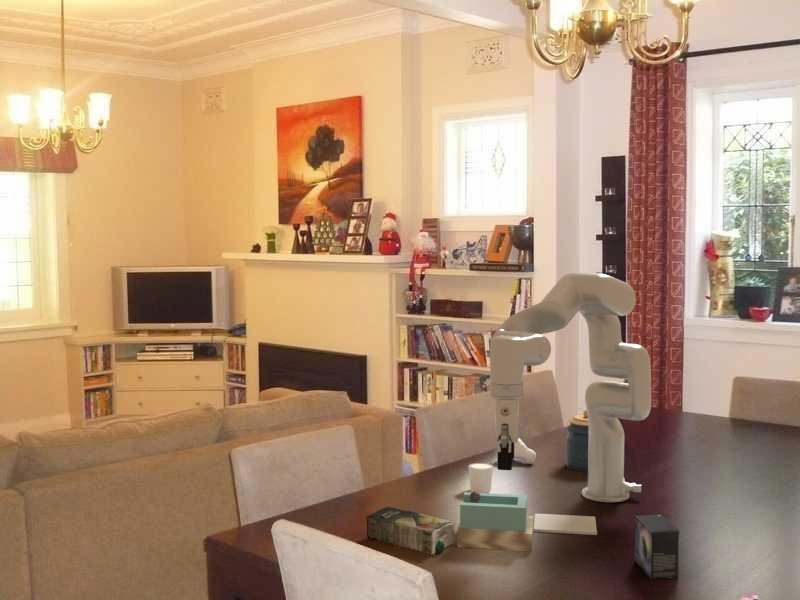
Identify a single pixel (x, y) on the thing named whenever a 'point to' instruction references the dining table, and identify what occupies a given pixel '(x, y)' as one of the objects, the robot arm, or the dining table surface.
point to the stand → (496, 535)
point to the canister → (577, 443)
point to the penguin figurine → (523, 452)
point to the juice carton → (410, 530)
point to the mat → (565, 524)
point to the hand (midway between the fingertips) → (506, 464)
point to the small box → (656, 546)
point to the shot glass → (480, 477)
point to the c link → (494, 512)
